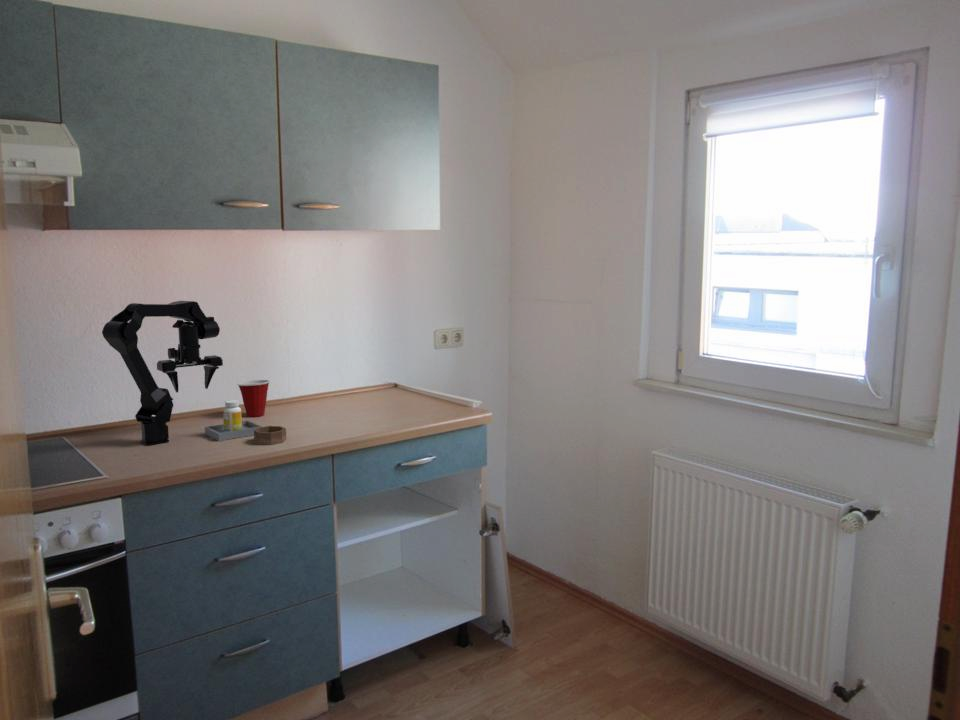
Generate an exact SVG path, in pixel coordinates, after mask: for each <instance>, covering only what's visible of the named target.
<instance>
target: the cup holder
mask: <svg viewBox="0 0 960 720" xmlns="http://www.w3.org/2000/svg"><path fill="white" fill-rule="evenodd" d="M253 439H254V443H255V442H256V444H257V445H265V444H270V445H271V446H272V445H277V443H278V444H283V443H284V442H286V440H287V428H286V427H283V426H281V425H267V426H263V427H260V428H257V429H256V430H254V435H253ZM265 446H266V445H265Z"/></svg>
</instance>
